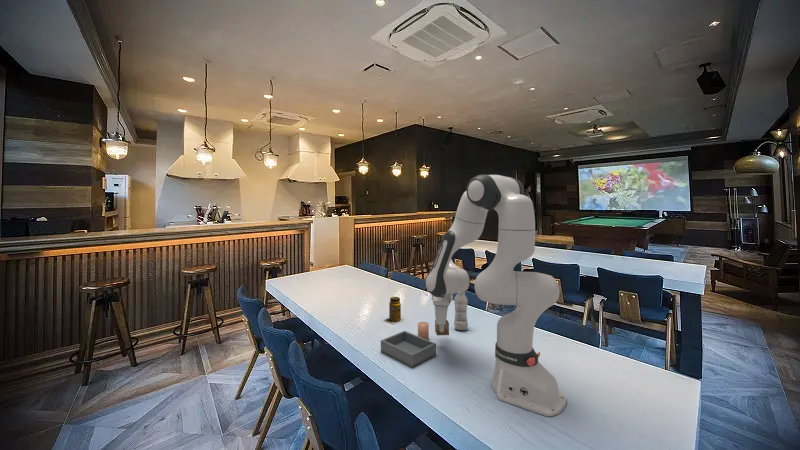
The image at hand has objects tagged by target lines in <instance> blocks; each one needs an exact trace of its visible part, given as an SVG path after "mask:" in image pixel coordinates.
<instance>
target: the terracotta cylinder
mask: <svg viewBox="0 0 800 450" xmlns="http://www.w3.org/2000/svg"><path fill="white" fill-rule="evenodd" d="M429 327H430V325H429V322H427V321H419V322H418V323H417V336H419V337H421V338H424V339H426V340H429V339H430V338H429V337H430V336H429V335H430V331H429V330H430V328H429ZM429 341H430V340H429Z"/></svg>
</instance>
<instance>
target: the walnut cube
mask: <svg viewBox="0 0 800 450" xmlns="http://www.w3.org/2000/svg"><path fill="white" fill-rule="evenodd" d="M434 332H435V335H436V336H450V323H449V320H448V319H447V318H446V324H445V325H444V332H440V331H439V325H437V324H436V319H434Z"/></svg>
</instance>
